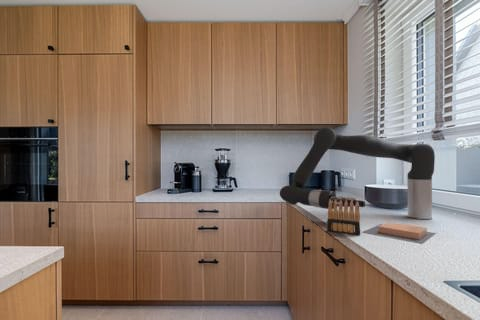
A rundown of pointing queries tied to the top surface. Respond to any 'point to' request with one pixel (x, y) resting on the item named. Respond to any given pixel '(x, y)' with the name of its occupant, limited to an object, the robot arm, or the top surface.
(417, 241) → the mat
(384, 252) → the top surface
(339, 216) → the ammunition clip
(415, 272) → the top surface
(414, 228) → the tile
